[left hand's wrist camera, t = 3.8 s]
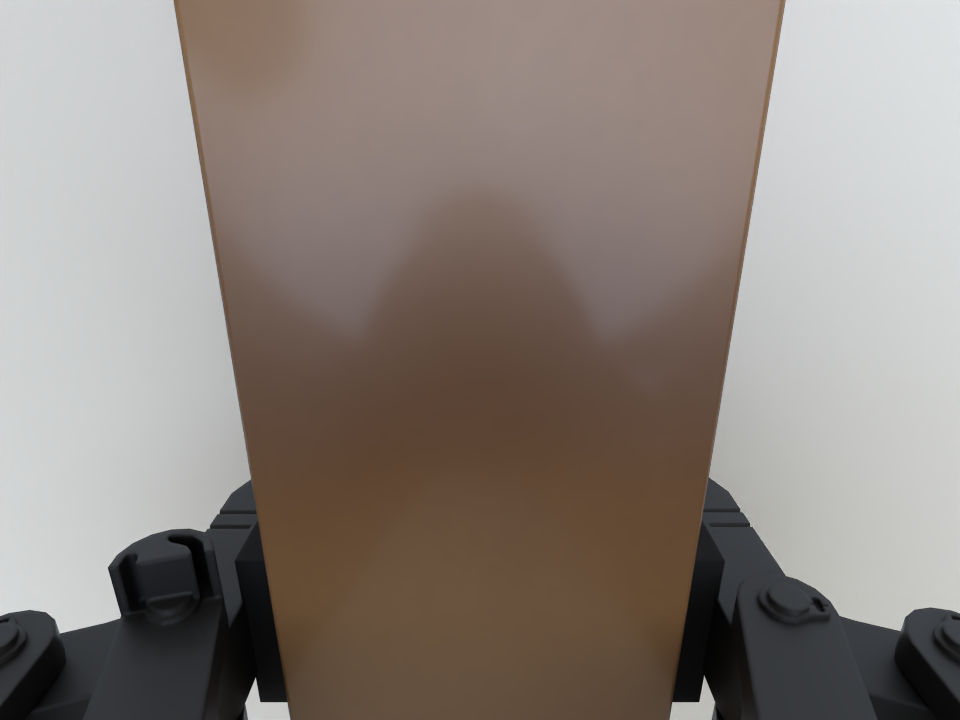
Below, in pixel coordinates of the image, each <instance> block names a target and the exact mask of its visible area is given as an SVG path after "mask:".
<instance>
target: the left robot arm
mask: <svg viewBox="0 0 960 720" xmlns="http://www.w3.org/2000/svg"><path fill="white" fill-rule="evenodd" d="M108 570H109V573H110V577H111V581H112V584H113V588H114V591H115V595H116V598H117V602H118V605H119V609H120V612H121V618H120V619H117V620H114V621H111V622H107V623H104V624H100V625H95V626H91V627H87V628H82V629H78V630H74V631H69V632H65V633H61V634H59V631H58V628H57V625H56V622H55V620H54V619H53V618H52V617H51V616H50V615H48V614H47V613H46V612H40V611H33V610H27V611H21V612H14V613H8V614H5V615H3V616H0V720H248V717H247V711H246V706H245V702H246V700H247V697H248V695H249V692H250V690H251V687H252V685H253V682H254V680H255V678H256V680H257V686H258V691H259V697H260V702H287V696H286V690H285V683H284V677H283V671H282V665H281V659H280V653H279V647H278V640H277V634H276V628H275V622H274V616H273V610H272V603H271V597H270V591H269V585H268V579H267V573H266V566H265V560H264V554H263V548H262V542H261V536H260V529H259V523H258V517H257V511H256V505H255V499H254V492H253V486H252V480H250V481H248V482H247V483H245V484H244V485H243V486H241V487H240V488H239V489H237V490H236V491H234V492H233V493H232V494H231V495H230V497H229V498H228V500H227V501H226V503H225V504H224V506H223V507H222V509H221V510H220V514H217V516H216V517H215V519H214V520H213V522H212V523H211V525H210V529H207V531H206V532H205V533H204V532H201V531H197V530H193V529H174V530H168V531H164V532H160V533H156V534H152V535H150V536H148V537H146V538H143V539H141V540H139V541H137V542H135V543H133V544H131V545H130V546H129V547H127V548H126V549H125V550H123V551H122V552H121V553H119V554H118V555H117V556H116V557H115V559H114V560H113V562H112V563H111V564H110V566H109V567H108ZM704 676H705V678H706V680H707V683H708V685H709V688H710V690H711V693H712V695H713V698H714V700H715V706H714V711H713V716H712V720H960V614H959V613H957V612H954V611H950V610H943V609H937V608H924V609H917V610H914V611H913V612H911V613H910V614H909V615H908V616H906V617H905V620H904V623H903V626H902V629H901V631H897V630H892V629H888V628H884V627H880V626H875V625H871V624H867V623H862V622H858V621H854V620H851V619H847V618H844V617H841V616H839V615H838V613H837V611H836V610H835V608H834V607H833V605H832V604H831V602H830V601H829V600H828V599H827V598H826V597H824V596H823V595H822V594H821V593H820V592H818V591H817V590H816V589H815V588H813V587H811V586H809V585H807V584H805V583H803V582H801V581H799V580H797V579H794V578H790V577H787V576H785V574H784V573H783V571H782V570H781V568H780V567H779V565H778V564H777V562H776V561H775V559H774V558H773V557H772V555H771V554H770V552H769V551H768V549H767V548H766V546H765V545H764V543H763V542H762V540H761V539H760V537H759V536H758V535H757V533H756V532H755V530H754V529H753V527H750V523H749V521H748V520H747V518H746V517H745V515H744V514H743V513H742V512H740V508H739V507H738V505H737V504H736V502H735V501H734V499H733V498H732V496H731V495H730V493H729V492H728V491H727V490H725V489H724V488H723V487H721V486H720V485H718V484H717V483H716V482H714V481H713V480H711V479H710V478H709V477H708V483H707V490H706V496H705V502H704V508H703V514H702V520H701V527H700V533H699V539H698V545H697V551H696V558H695V564H694V570H693V576H692V582H691V589H690V595H689V601H688V607H687V613H686V620H685V626H684V632H683V638H682V644H681V650H680V657H679V663H678V669H677V675H676V681H675V688H674V694H673V700H672V702H699V700H700V695H701V689H702V684H703V678H704Z"/></svg>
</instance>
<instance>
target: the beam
mask: <svg viewBox="0 0 960 720" xmlns="http://www.w3.org/2000/svg"><path fill="white" fill-rule="evenodd" d="M174 6H175V12H176V18H177V24H178V30H179V37H180V43H181V49H182V55H183V61H184V67H185V73H186V80H187V86H188V92H189V98H190V104H191V110H192V117H193V123H194V129H195V135H196V141H197V147H198V154H199V160H200V166H201V172H202V178H203V184H204V191H205V197H206V203H207V209H208V215H209V221H210V228H211V234H212V240H213V246H214V252H215V258H216V265H217V271H218V277H219V283H220V289H221V295H222V301H223V308H224V314H225V320H226V326H227V332H228V338H229V345H230V351H231V357H232V363H233V369H234V375H235V382H236V388H237V394H238V400H239V406H240V412H241V419H242V425H243V431H244V437H245V443H246V449H247V456H248V462H249V468H250V474H251V480H252V486H253V492H254V499H255V505H256V511H257V517H258V523H259V529H260V536H261V542H262V548H263V554H264V560H265V566H266V573H267V579H268V585H269V591H270V597H271V603H272V610H273V616H274V622H275V628H276V634H277V640H278V647H279V653H280V659H281V665H282V671H283V677H284V683H285V690H286V696H287V702H288V708H289V714H290V720H669V719H670V712H671V706H672V700H673V694H674V688H675V681H676V675H677V669H678V663H679V657H680V650H681V644H682V638H683V632H684V626H685V620H686V613H687V607H688V601H689V595H690V589H691V582H692V576H693V570H694V564H695V558H696V551H697V545H698V539H699V533H700V527H701V520H702V514H703V508H704V502H705V496H706V490H707V483H708V477H709V471H710V465H711V459H712V452H713V446H714V440H715V434H716V428H717V421H718V415H719V409H720V403H721V397H722V390H723V384H724V378H725V372H726V366H727V359H728V353H729V347H730V341H731V335H732V329H733V322H734V316H735V310H736V304H737V298H738V291H739V285H740V279H741V273H742V267H743V260H744V254H745V248H746V242H747V236H748V229H749V223H750V217H751V211H752V205H753V199H754V192H755V186H756V180H757V174H758V168H759V161H760V155H761V149H762V143H763V137H764V130H765V124H766V118H767V112H768V106H769V99H770V93H771V87H772V81H773V75H774V68H775V62H776V56H777V50H778V44H779V38H780V31H781V25H782V19H783V13H784V7H785V0H174Z"/></svg>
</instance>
